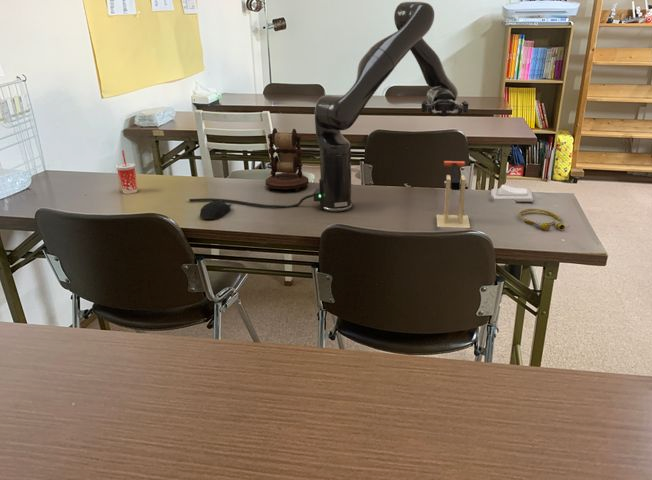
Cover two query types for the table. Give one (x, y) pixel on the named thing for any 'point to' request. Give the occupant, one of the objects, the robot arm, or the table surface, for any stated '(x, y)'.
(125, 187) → the beverage cup
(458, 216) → the bracket
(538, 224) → the extension cord
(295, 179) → the brown spool stand
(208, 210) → the gaming mouse
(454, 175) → the lever
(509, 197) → the light switch
